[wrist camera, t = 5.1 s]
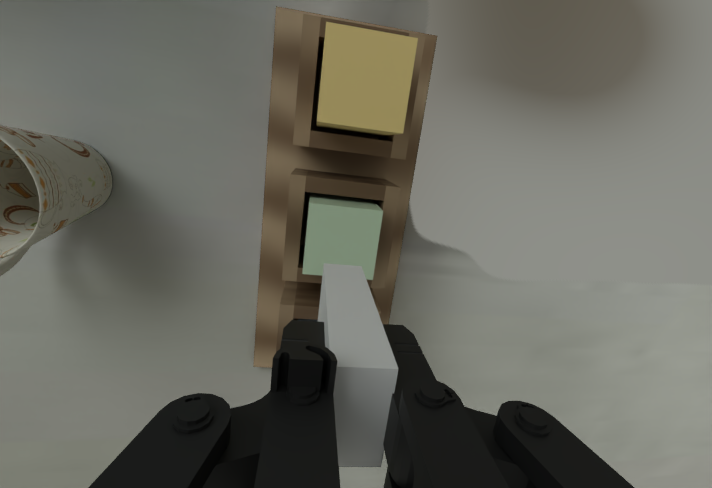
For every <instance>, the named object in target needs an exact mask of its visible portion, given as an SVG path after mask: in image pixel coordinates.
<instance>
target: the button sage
mask: <svg viewBox="0 0 712 488" xmlns="http://www.w3.org/2000/svg"><path fill="white" fill-rule="evenodd" d="M382 216H383V210H382V209H381V208H380V207H379V206H378V205H377V204H376V203H375V202H374V201H373V200H372V199H364V198H356V197H347V196H339V195H330V194H321V193H313V192H311V193H310V200H309V209H308V219H307V230H306V240H305V251H304V261H303V271H302V274H309V275H321V276H322V275H323V266H324V263H327V264H340V265H352V266H362V269H363V271H364V274H365V277H366V279H368V280H373V276H374V269H375V262H376V256H377V249H378V243H379V236H380V229H381V223H382Z"/></svg>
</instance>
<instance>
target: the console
mask: <svg viewBox="0 0 712 488" xmlns="http://www.w3.org/2000/svg"><path fill="white" fill-rule="evenodd" d="M326 22H331V23H337V24H342V25H348V26H353V27H359V28H364V29H370V30H376V31H381V32H387V33H392V34H398V35H403V36H409V37H414V38H418V42H417V48H416V55H415V61H414V67H413V74H412V80H411V86H410V93H409V99H408V105H407V112H406V118H405V124H404V131H403V134H395V135H385V136H380V135H373V134H366V133H359V132H351V131H344V130H337V129H330V128H323V127H317V113H318V102H319V92H320V82H321V71H322V61H323V50H324V40H325V30H326ZM436 40H437V36H435V35H429V34H424V33H419V32H413V31H408V30H402V29H397V28H391V27H386V26H380V25H375V24H369V23H364V22H359V21H353V20H348V19H342V18H337V17H331V16H326V15H320V14H315V13H309V12H304V11H299V10H293V9H288V8H282V7H277V6H276V16H275V32H274V48H273V64H272V80H271V96H270V112H269V128H268V144H267V160H266V175H265V191H264V207H263V223H262V239H261V255H260V271H259V287H258V303H257V319H256V334H255V350H254V366H253V367H272V363H273V357H274V355H275V353H276V351H278V350H279V349H280V346H281V340H282V334H283V328H284V327H285V326H286V325H287V324H288V323H289V322H290V321H291V320H298V319H313V320H318V313H319V304H320V294H321V285H322V276H321V275H309V274H302V271H303V261H304V251H305V240H306V230H307V219H308V209H309V200H310V193H311V192H313V193H321V194H330V195H339V196H347V197H356V198H364V199H372V200H373V201H374V202H375V203H376V204H377V205H378V206H379V207H380V208H381V209H382V210H383V216H382V223H381V229H380V236H379V243H378V249H377V256H376V262H375V269H374V276H373V280H368V279H366V280H367V283H368V285H369V288H370V291H371V294H372V297H373V299H374V302H375V305H376V308H377V310H378V313H379V316H380V319H381V322H382V324H388V323H389V317H390V311H391V305H392V299H393V293H394V288H395V282H396V276H397V270H398V264H399V258H400V252H401V246H402V240H403V235H404V229H405V223H406V217H407V211H408V205H409V199H410V193H411V187H412V182H413V176H414V170H415V164H416V158H417V152H418V146H419V140H420V135H421V129H422V123H423V117H424V110H425V105H426V99H427V93H428V87H429V82H430V75H431V70H432V64H433V58H434V52H435V46H436Z"/></svg>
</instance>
